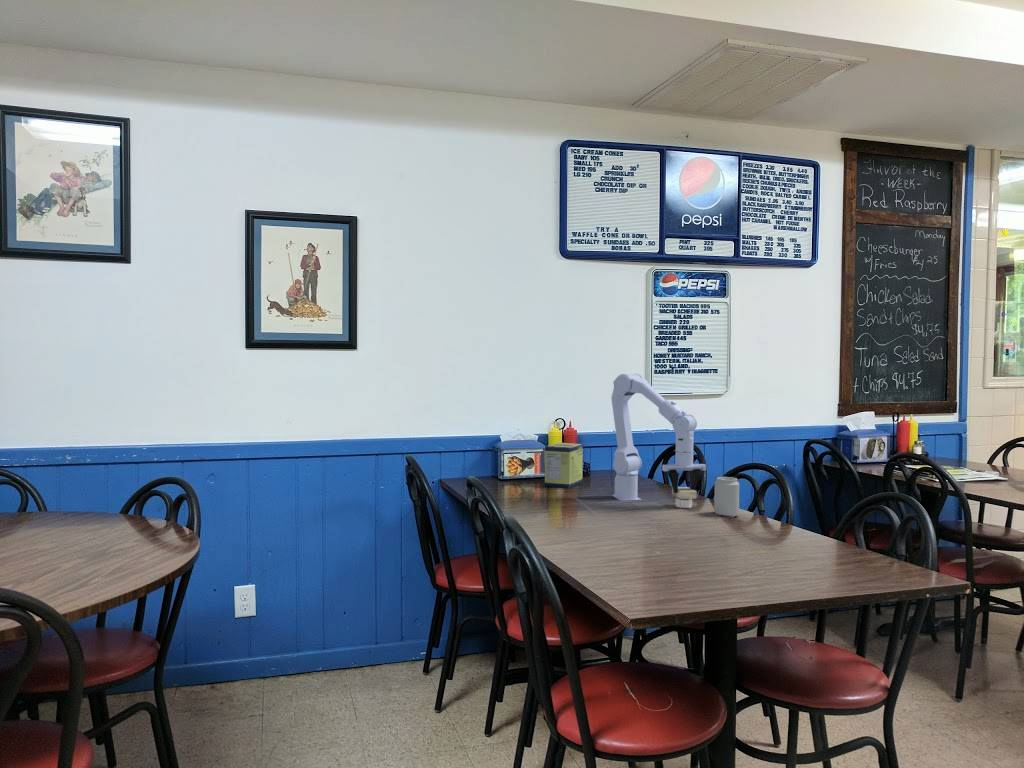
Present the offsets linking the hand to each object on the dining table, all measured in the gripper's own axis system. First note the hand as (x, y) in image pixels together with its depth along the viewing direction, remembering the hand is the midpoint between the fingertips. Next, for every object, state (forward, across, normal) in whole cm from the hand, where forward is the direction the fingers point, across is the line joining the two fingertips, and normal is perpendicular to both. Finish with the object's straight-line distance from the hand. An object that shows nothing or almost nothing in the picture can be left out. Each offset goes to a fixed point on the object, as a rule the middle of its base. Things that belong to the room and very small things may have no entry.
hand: (683, 492), depth 249 cm
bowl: (+5, 0, 0) cm, 5 cm away
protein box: (+6, -29, +50) cm, 58 cm away
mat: (+5, -12, +2) cm, 13 cm away
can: (+5, +9, -13) cm, 17 cm away
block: (+1, 0, 0) cm, 1 cm away
